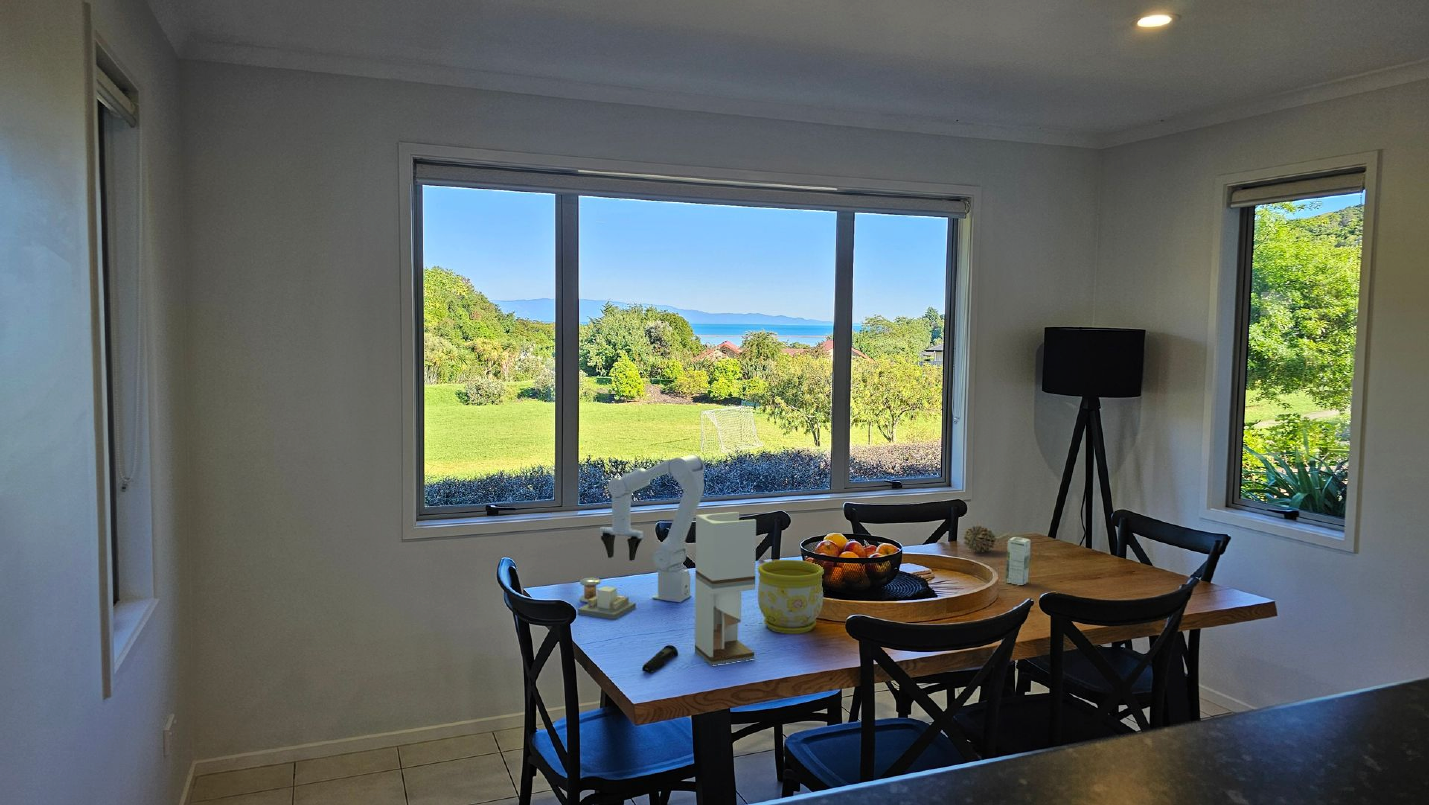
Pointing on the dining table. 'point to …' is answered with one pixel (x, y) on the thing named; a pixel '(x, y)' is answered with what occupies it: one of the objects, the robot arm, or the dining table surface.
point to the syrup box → (1018, 561)
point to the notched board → (614, 612)
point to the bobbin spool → (589, 588)
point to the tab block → (606, 596)
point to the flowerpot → (790, 595)
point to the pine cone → (981, 538)
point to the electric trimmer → (660, 658)
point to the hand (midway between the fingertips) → (621, 558)
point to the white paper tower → (722, 584)
